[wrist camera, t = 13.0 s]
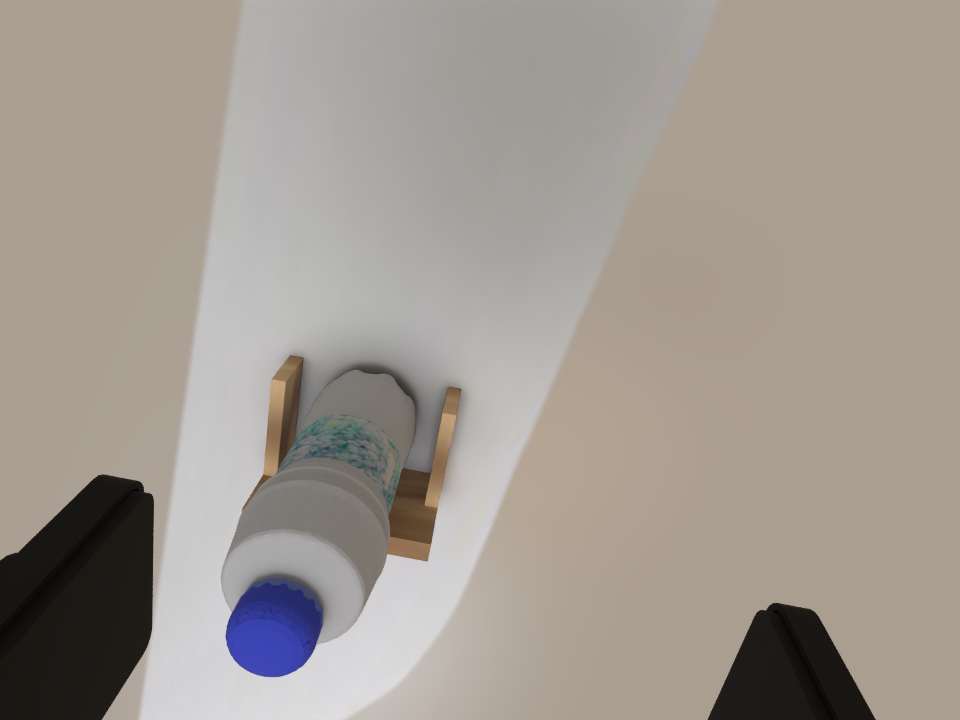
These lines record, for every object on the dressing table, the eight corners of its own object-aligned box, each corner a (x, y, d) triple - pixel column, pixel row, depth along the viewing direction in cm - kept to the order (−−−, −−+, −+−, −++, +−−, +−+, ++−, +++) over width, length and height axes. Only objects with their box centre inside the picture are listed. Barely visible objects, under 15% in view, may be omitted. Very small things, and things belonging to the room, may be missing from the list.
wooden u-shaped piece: (290, 355, 42) (249, 407, 36) (460, 389, 43) (451, 446, 36) (279, 461, 45) (241, 526, 39) (439, 491, 46) (427, 561, 39)
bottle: (337, 462, 45) (216, 734, 27) (301, 370, 43) (140, 600, 24) (436, 441, 44) (381, 709, 26) (405, 346, 42) (319, 566, 23)
